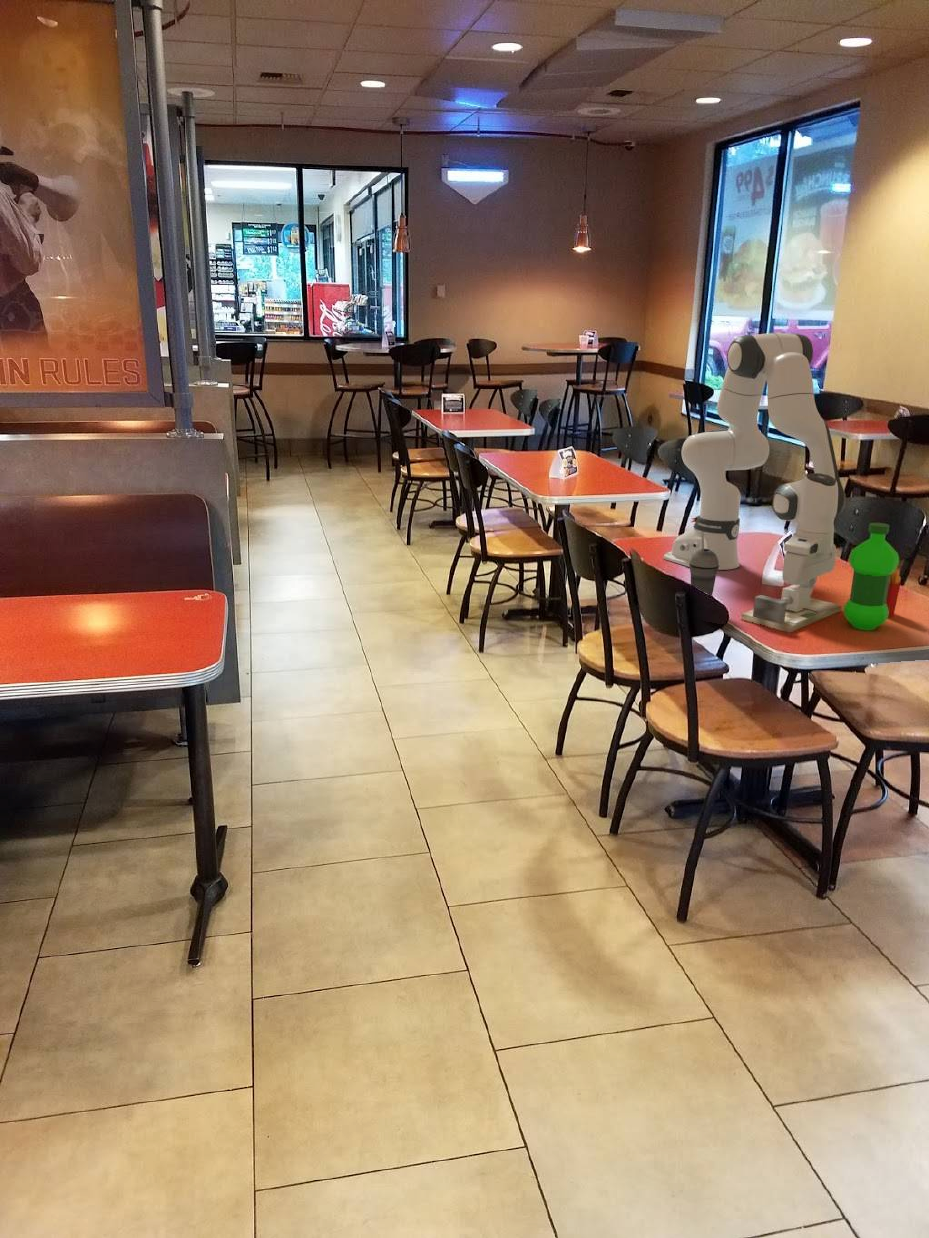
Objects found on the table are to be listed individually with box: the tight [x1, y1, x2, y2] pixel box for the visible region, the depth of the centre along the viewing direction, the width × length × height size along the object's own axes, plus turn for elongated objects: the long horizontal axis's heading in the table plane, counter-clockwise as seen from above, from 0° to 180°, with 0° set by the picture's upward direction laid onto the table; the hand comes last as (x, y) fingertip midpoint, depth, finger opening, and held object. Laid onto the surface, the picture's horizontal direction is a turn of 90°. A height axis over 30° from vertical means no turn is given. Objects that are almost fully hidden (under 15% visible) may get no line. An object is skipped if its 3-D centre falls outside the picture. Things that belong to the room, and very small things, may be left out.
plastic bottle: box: [843, 522, 900, 631], centre depth 216 cm, size 10×10×25 cm
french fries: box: [886, 569, 902, 618], centre depth 228 cm, size 8×4×12 cm, turn 8°
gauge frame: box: [741, 594, 843, 634], centre depth 227 cm, size 13×25×6 cm, turn 132°
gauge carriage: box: [780, 584, 818, 612], centre depth 225 cm, size 8×9×5 cm
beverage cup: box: [689, 531, 719, 596], centre depth 229 cm, size 7×7×20 cm
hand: (806, 594), depth 230 cm, fingers closed
